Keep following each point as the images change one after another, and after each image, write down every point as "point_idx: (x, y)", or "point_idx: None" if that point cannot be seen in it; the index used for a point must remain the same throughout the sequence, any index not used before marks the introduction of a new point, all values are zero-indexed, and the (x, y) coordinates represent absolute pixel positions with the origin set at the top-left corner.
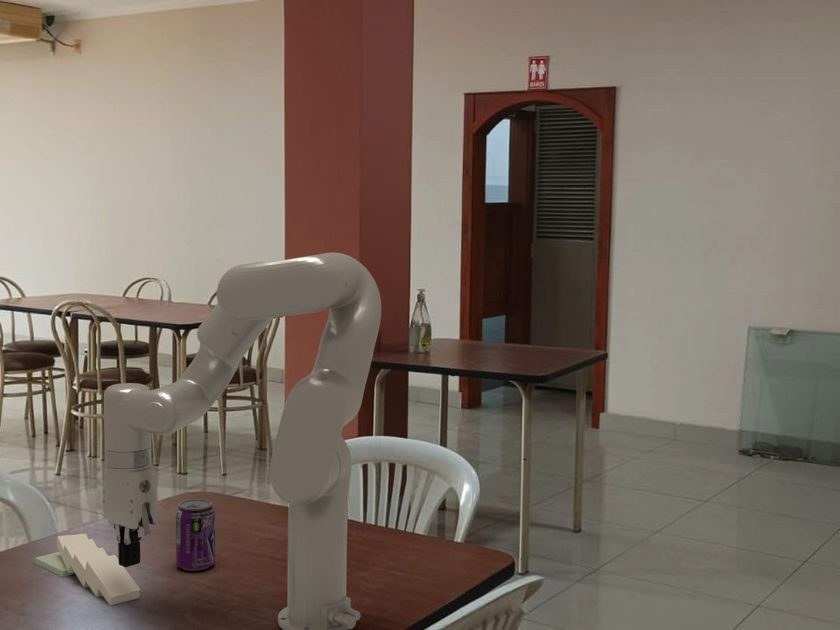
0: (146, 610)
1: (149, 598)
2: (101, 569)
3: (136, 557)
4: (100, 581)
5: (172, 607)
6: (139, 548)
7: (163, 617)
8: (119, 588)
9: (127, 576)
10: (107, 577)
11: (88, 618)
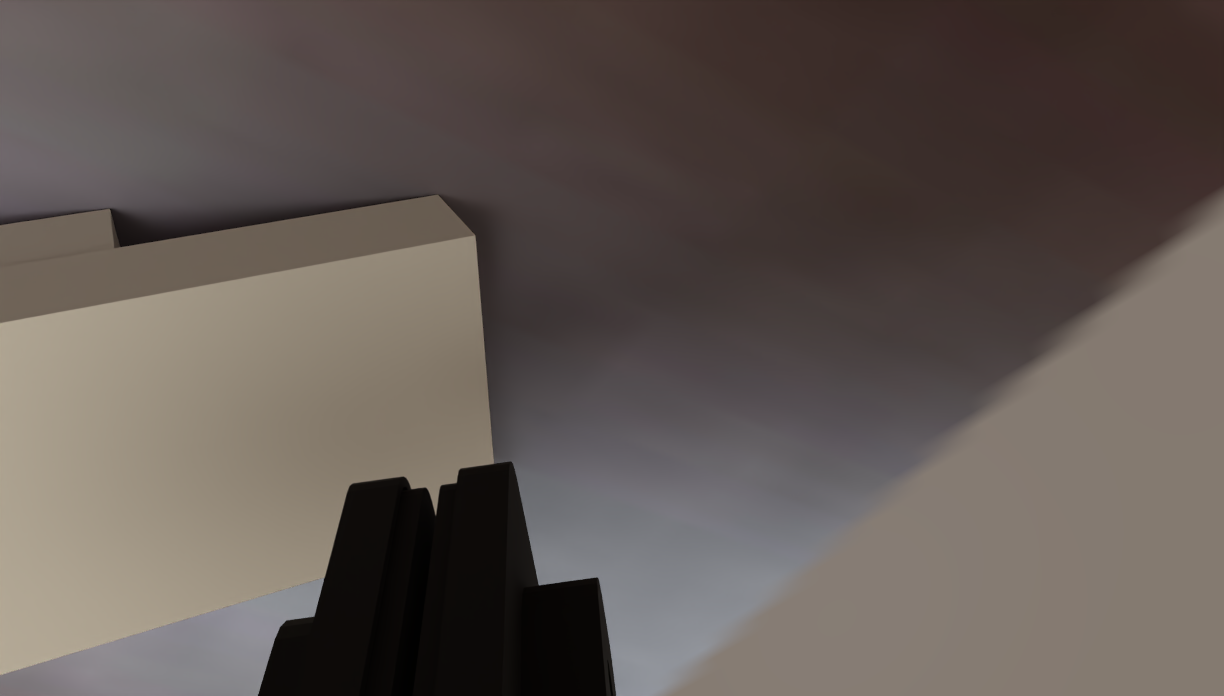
0: (789, 268)
1: (514, 104)
2: None
3: (603, 632)
4: (223, 606)
5: (918, 23)
6: (510, 655)
7: (1055, 218)
8: (393, 444)
9: (193, 327)
10: (166, 540)
11: (611, 656)
